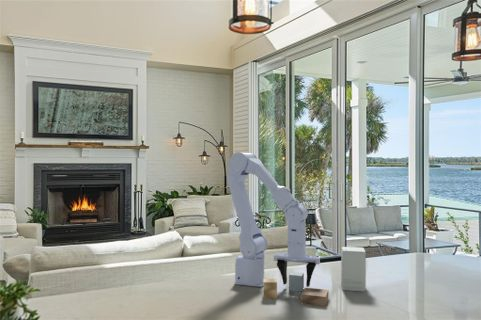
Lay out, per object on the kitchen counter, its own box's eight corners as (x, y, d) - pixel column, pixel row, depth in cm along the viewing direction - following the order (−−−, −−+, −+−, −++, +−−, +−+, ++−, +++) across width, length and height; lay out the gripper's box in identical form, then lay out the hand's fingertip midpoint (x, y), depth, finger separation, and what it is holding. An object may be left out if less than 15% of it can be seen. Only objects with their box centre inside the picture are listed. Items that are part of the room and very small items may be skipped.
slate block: (288, 290, 134) (289, 274, 134) (291, 287, 138) (291, 271, 138) (301, 292, 133) (301, 276, 133) (303, 288, 136) (303, 272, 136)
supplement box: (365, 291, 133) (366, 251, 133) (341, 290, 134) (341, 250, 134) (363, 285, 140) (364, 247, 140) (340, 283, 142) (341, 246, 142)
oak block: (263, 298, 126) (263, 282, 126) (263, 294, 130) (263, 278, 130) (276, 299, 126) (277, 282, 126) (276, 295, 130) (276, 278, 130)
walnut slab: (300, 304, 122) (300, 294, 122) (305, 297, 128) (305, 287, 128) (325, 307, 120) (325, 296, 120) (328, 299, 126) (328, 289, 126)
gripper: (271, 243, 134) (271, 286, 134) (317, 246, 129) (317, 290, 129) (276, 239, 141) (276, 280, 140) (320, 242, 136) (320, 284, 136)
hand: (296, 284), depth 135 cm, fingers open, 7 cm apart
